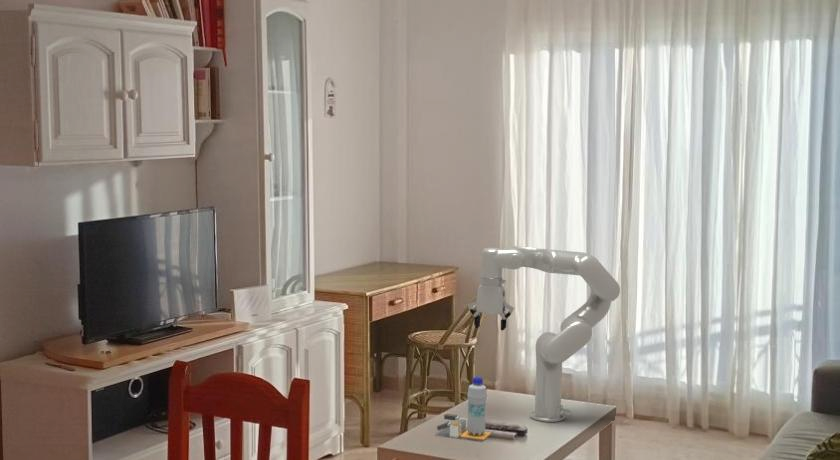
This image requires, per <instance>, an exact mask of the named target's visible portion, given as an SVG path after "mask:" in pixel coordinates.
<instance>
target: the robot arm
mask: <svg viewBox="0 0 840 460" xmlns="http://www.w3.org/2000/svg"><path fill="white" fill-rule="evenodd" d="M521 268H530V269H534V270H535V269H536V270H538V271H540V272H541V271H542V272H544V273H549V274H557V275H558V274H559V275H560V274H561V275H568V276H580V277H581V278H582V279H583V280H584V282H585V283H586V284H587V286H589V287H590V288H589V289H590V293H589V297H588V299H587V300H586V301H585V303H583V304H582V305H581V306H580V307H579V308H578V309H575V311H574V312H572V313H571V314H570V315H568V316H567V317H566V318H564V319H563V321H562V322H561V323H560V325H559V326H560V328H559V329H560V332H558V333H557V334H556V333H554V332H550V331H549V332H544V333H542V334H540V335H539V336H538V338H537V339H536V342H535V362H536V363H535V365H536V366H535V367H536V368H535V391H534V392H535V393H534V395H535V396H534V410H533V411H531V412H530V418H531V419H533V420H534V421H539V422H546V423H556V422H562V421H563V420H565V419H566V417H572V416H573V410H571V409H565V408H564V405H563V404H562V390H563V389H562V386H563V385H562V384H563V382H562V381H563V363H564V362H566V361H567V360H569V359H570V358H571V357H572V356H573V355H575V354H576V353H578V352H579V351H580V350H581V349H583V348H584V347H585V346H586V345H588V343H589V342H590V340H591V338H592V335H593V329H592V328H594V327H595V326H596V325H597V324H598V323H600V322H601V321H602V320H604V318H605V317H606V316H607V315H608V312H609V311H610V309H611V304H612V302H614V301H616V300H617V299H618V298H619V296H620V294H621V288H620V284H619V282H618V281H616V279H615V278H614V277H613V276H612V275H611V274H610V271H608V270H607V269H606V267H604V266H603V265H602V263H601V262H600V261H599V260H598V259H597V258H596V257H595V256H593V255H592V254H590V253H587V252H583V251H582V252H580V251H572V250H571V251H570V250H558V249H551V248H550V249H549V248H538V247H537V248H536V247H527V246H515V245H508V246H505V247H503V248H502V249H501V248H497V247H485V248H483V249H482V251H481V269H480V271H481V273H480V275H481V276H480V278H481V279H480V284H479V286H478V289H477V297H476V300H474V301H472V302H470V303H468V304H467V307H468V309H469V312H470V313H471V315H472V316H473V319H474V320H473V324H474V326H475V329H478V328H480V326H481V325H480V324H481V317H480V314H491V315H499V316H500V317H501V320H500V331H501V332H502V331H505V329H506V328H507V319H508V318H509V317H511V316H512V313H514V310H515V307H514V306H512V305H510V304H509V303H507V301H506V290H505V286H504V285H503V284H505V285H506V279H503V269H507V270H519V269H521ZM474 306H476V307H475V308H474ZM475 309H476V310H475ZM506 310H508V312H507V313H506ZM565 416H566V417H565Z"/></svg>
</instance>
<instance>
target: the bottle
mask: <svg viewBox="0 0 840 460" xmlns="http://www.w3.org/2000/svg"><path fill="white" fill-rule="evenodd" d="M466 395H467V403H468V404H467V418H468V422H467V430H468V433H469V434H470V435H472V434H473V436H475V435H476V433H478V436H480V435H483V434H484V433H485V431H486V405H487V404H486V401H487V396H488V394H487V387H486V385H484V384H483V378H482V377H481V376H475V377H473V378H472V384H470V385H468V390H467V394H466Z"/></svg>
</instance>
